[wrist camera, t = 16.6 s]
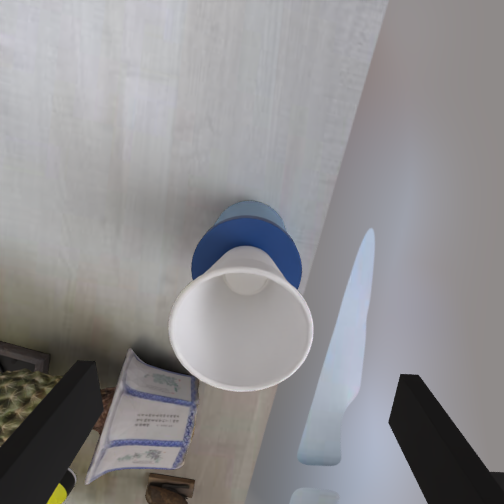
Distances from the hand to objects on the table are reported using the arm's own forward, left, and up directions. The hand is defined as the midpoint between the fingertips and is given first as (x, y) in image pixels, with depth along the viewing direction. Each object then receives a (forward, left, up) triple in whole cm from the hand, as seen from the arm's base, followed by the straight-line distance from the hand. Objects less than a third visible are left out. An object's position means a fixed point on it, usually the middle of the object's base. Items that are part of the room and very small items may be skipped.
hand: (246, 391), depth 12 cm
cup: (+1, +2, -18) cm, 18 cm away
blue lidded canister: (+1, +2, -32) cm, 32 cm away
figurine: (+14, +58, -32) cm, 67 cm away
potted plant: (+23, +27, -32) cm, 47 cm away
